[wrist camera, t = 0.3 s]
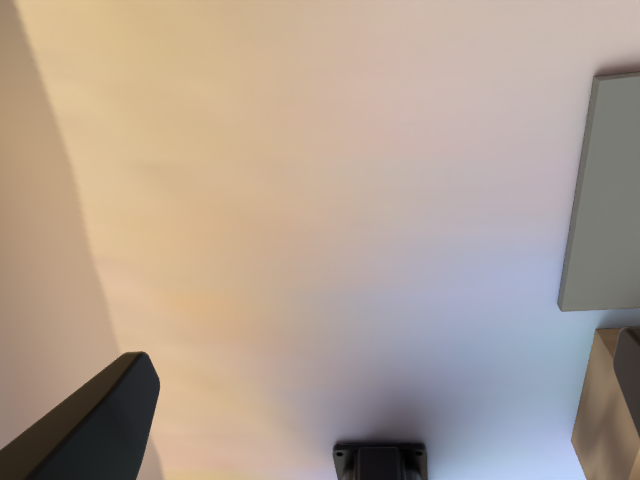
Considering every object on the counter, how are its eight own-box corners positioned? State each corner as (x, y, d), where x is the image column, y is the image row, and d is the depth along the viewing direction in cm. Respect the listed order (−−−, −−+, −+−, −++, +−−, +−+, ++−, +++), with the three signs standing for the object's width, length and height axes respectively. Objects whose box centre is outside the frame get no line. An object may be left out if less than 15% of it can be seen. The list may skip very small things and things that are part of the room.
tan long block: (610, 438, 31) (657, 535, 26) (570, 439, 32) (608, 534, 27) (643, 325, 26) (710, 419, 21) (594, 328, 26) (649, 420, 21)
